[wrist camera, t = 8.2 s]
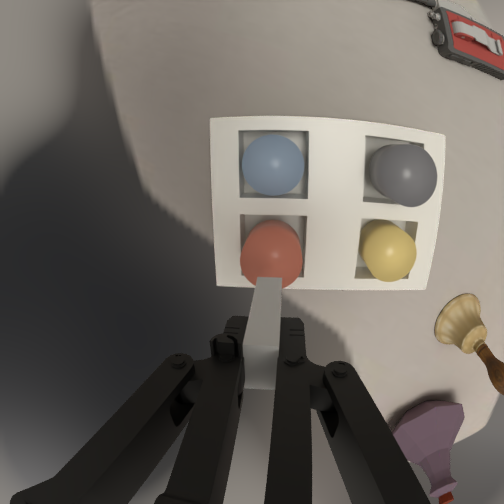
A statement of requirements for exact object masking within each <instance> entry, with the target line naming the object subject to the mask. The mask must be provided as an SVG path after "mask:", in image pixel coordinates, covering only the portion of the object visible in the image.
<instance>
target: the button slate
mask: <svg viewBox="0 0 504 504" xmlns="http://www.w3.org/2000/svg"><path fill="white" fill-rule="evenodd" d="M242 171H243V175H244V177H245V179H246V181H247V182H248V184H249V185H250V186H251V187H252V188H253V189H254V190H256V191H257V192H259V193H262V194H265V195H270V196H277V195H282V194H285V193H287V192H289V191H291V190H292V189H293V188H295V187H296V186H297V185H298V183H299V182H300V180H301V178H302V176H303V172H304V159H303V156H302V153H301V151H300V149H299V148H298V146H297V145H296V144H295V143H294V142H292V141H291V140H290V139H288V138H286V137H283V136H280V135H265V136H262V137H259V138H257V139H256V140H254V141H253V142H252V143H251V144H250V145H249V146H248V147H247V149H246V150H245V152H244V155H243V158H242Z"/></svg>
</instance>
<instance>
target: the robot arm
mask: <svg viewBox="0 0 504 504" xmlns="http://www.w3.org/2000/svg"><path fill="white" fill-rule="evenodd" d="M281 295H282V278H277V277H257V281H256V286H255V291H254V295H253V300H252V304H251V309H250V313H249V317H245V316H232V317H231V318H230V319H229V320H228V321H227V324H226V327H225V329H224V333H223V334H219V335H216V336H214V337H213V338H212V339H211V340H210V347H211V355H212V356H211V357H210V358H207V359H204V360H196V361H193V359H192V358H191V356H189V355H187V354H183V353H178V354H173V355H171V356H169V357H168V358H166V359H165V361H164V362H163V363H162V364H161V365H160V366H159V367H158V368H157V369H156V370H155V371H154V372H153V373H152V374H151V376H150V377H149V378H148V379H147V380H146V381H145V382H144V383H143V384H142V385H141V386H140V387H139V388H138V389H137V391H135V393H134V394H133V395H132V396H131V397H130V398H129V399H128V400H127V401H126V402H125V403H124V404H123V405H122V406H121V407H120V408H119V409H118V411H117V412H116V413H115V414H114V415H113V416H112V417H111V418H110V419H109V420H108V421H107V422H106V423H105V424H104V425H103V426H102V427H101V428H100V430H99V431H98V432H97V433H96V434H95V435H94V436H93V437H92V438H91V439H90V440H89V441H88V442H87V443H86V444H85V445H84V446H83V447H82V448H81V449H80V450H79V451H78V453H77V454H76V455H75V456H74V457H73V458H72V459H71V460H70V461H69V462H68V463H67V464H66V465H65V466H64V467H63V468H62V469H61V470H60V471H59V472H58V473H57V474H56V475H55V476H54V477H53V478H51V479H49V480H47V481H44V482H42V483H40V484H37V485H35V486H32V487H30V488H28V489H25V490H23V491H20V492H18V493H16V494H15V495H13V496H12V498H11V500H10V504H128V503H129V501H130V500H131V499H132V497H133V496H134V495H135V494H136V492H137V491H138V490H139V488H140V487H141V486H142V484H143V483H144V482H145V481H146V479H147V478H148V477H149V475H150V474H151V472H152V471H153V470H154V469H155V467H156V466H157V464H158V463H159V462H160V460H161V459H162V457H163V456H164V455H165V454H166V452H167V451H168V449H169V448H170V447H171V445H172V444H173V442H174V441H175V440H176V438H177V437H178V436H179V434H180V433H181V431H182V430H183V428H184V427H185V425H186V424H187V423H188V421H189V423H188V426H187V429H186V432H185V435H184V438H183V441H182V444H181V446H180V449H179V453H178V455H177V458H176V461H175V464H174V467H173V470H172V473H171V476H170V479H169V482H168V485H167V488H166V490H165V492H164V493H163V494H161V495H159V496H158V497H157V498H156V500H155V503H154V504H223V500H224V496H225V490H226V485H227V481H228V475H229V470H230V465H231V460H232V455H233V450H234V445H235V439H236V434H237V428H238V423H239V417H240V413H241V407H242V402H243V387H244V386H245V388H251V389H268V390H275V398H274V410H273V422H272V433H271V444H270V454H269V464H268V474H267V483H266V492H265V501H264V504H312V437H311V408H312V409H316V410H317V414H318V417H319V419H320V422H321V425H322V427H323V430H324V432H325V435H326V438H327V440H328V443H329V445H330V448H331V450H332V453H333V456H334V458H335V461H336V463H337V466H338V469H339V471H340V474H341V476H342V479H343V481H344V484H345V487H346V489H347V492H348V494H349V497H350V500H351V502H352V504H430V501H429V500H428V498H427V496H426V494H425V492H424V490H423V488H422V486H421V484H420V483H419V481H418V479H417V477H416V475H415V474H414V472H413V470H412V468H411V466H410V464H409V462H408V461H407V459H406V457H405V455H404V453H403V452H402V450H401V448H400V446H399V445H398V443H397V441H396V439H395V437H394V436H393V434H392V432H391V430H390V429H389V427H388V425H387V423H386V422H385V420H384V418H383V416H382V415H381V413H380V411H379V409H378V408H377V406H376V404H375V403H374V401H373V399H372V397H371V396H370V394H369V392H368V391H367V389H366V387H365V386H364V384H363V382H362V381H361V379H360V377H359V375H358V374H357V372H356V370H355V369H354V367H353V366H352V365H351V364H349V363H347V362H343V361H334V362H331V363H329V364H328V365H327V366H326V367H324V366H319V365H316V364H314V363H312V362H310V361H309V360H308V358H307V356H306V349H305V336H304V335H305V334H304V323H303V322H302V321H301V319H300V318H285V317H284V318H282V317H281Z"/></svg>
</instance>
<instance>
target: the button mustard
mask: <svg viewBox="0 0 504 504" xmlns="http://www.w3.org/2000/svg"><path fill="white" fill-rule="evenodd" d="M358 251H359V254H360V256H361V257H362V259H363V261H364V262H365V264H366V265H367V267H368V268H369V270H370V272H371V273H372V275H373V276H374V277H375V278H377V279H378V280H380V281H384V282H394V281H397V280H400V279H401V278H403V277H404V276H406V275H407V274H408V273H409V272H410V270H411V269H412V268H413V266H414V263H415V261H416V256H417V250H416V245H415V242H414V240H413V239H412V238H411V236H409V235H408V234H407V233H406V232H405V231H403V230H402V229H401V228H399V227H398V226H397V225H396V224H394V223H393V222H391V221H389V220H384V219H378V220H374V221H372V222H370V223H369V224H367V225H366V226H365V227H364V228H363V230H362V231H361V233H360V238H359V247H358Z"/></svg>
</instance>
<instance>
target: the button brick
mask: <svg viewBox="0 0 504 504" xmlns="http://www.w3.org/2000/svg"><path fill="white" fill-rule="evenodd" d="M302 264H303V261H302V253H301V246H300V240H299V236H298V234H297V233H296V231H295V230H294V229H293V228H292V227H291V226H290V225H289V224H287V223H285V222H283V221H280V220H266V221H263V222H260V223H259V224H257V225H256V226H255V227H254V228H253V229H252V230H251V231H250V233H249V235H248V237H247V239H246V242H245V244H244V247H243V249H242V252H241V256H240V266H241V270H242V272H243V274H244V276H245V277H246V279H247V280H248V281H249V282H250V283H252V284H253V285H255V286H256V281H257V277H277V278H282V288H285V287H287V286H289V285H290V284H292V283H293V282H294V281H295V280H296V279H297V278H298V276H299V274H300V272H301V269H302Z"/></svg>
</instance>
